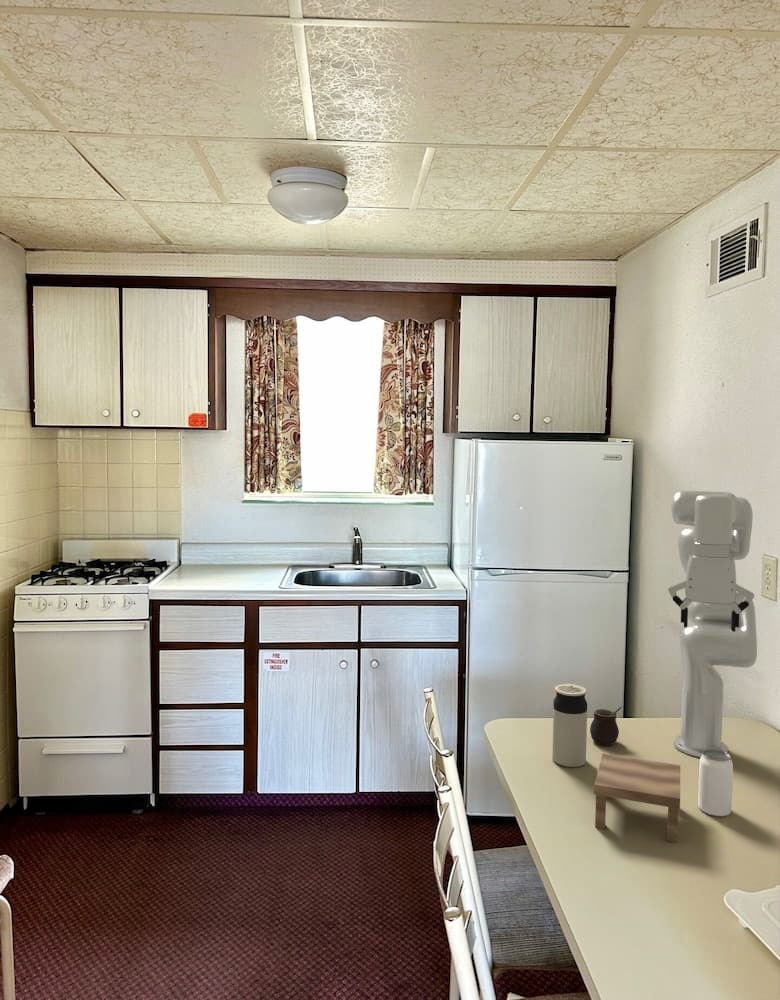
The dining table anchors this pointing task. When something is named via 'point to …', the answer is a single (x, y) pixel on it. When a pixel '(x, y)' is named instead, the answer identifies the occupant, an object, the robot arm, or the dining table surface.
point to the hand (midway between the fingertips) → (709, 628)
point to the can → (715, 783)
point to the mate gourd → (604, 727)
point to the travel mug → (569, 725)
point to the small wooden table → (638, 786)
